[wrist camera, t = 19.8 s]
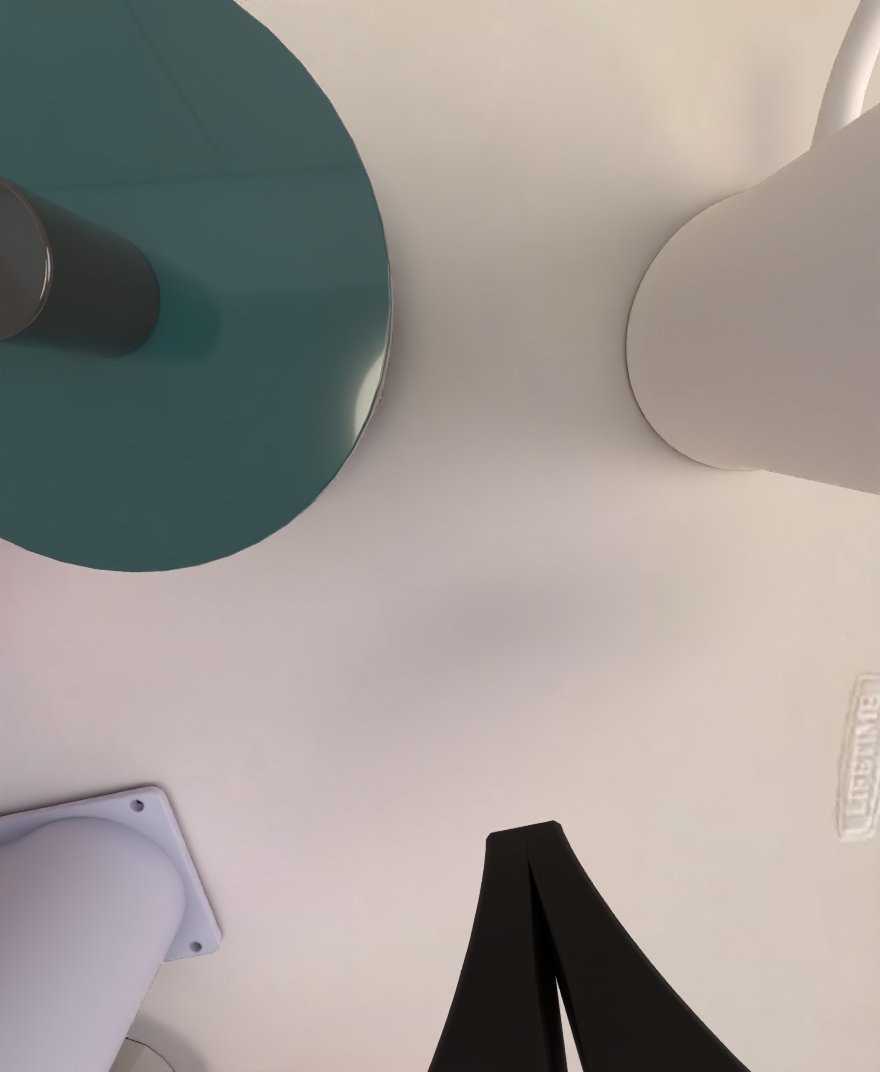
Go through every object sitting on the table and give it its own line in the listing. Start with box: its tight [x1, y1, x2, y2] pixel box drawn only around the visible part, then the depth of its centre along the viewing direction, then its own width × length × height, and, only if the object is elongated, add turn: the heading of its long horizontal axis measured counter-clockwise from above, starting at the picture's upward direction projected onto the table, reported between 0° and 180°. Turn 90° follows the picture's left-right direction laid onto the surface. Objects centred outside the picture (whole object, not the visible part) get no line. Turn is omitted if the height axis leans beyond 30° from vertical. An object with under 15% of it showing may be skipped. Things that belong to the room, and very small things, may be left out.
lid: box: [0, 0, 394, 572], centre depth 11 cm, size 13×13×5 cm
